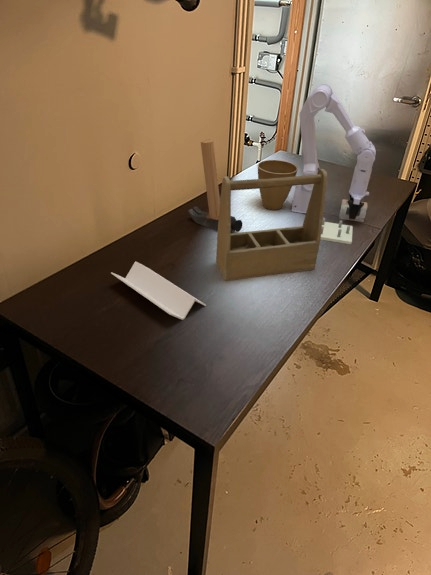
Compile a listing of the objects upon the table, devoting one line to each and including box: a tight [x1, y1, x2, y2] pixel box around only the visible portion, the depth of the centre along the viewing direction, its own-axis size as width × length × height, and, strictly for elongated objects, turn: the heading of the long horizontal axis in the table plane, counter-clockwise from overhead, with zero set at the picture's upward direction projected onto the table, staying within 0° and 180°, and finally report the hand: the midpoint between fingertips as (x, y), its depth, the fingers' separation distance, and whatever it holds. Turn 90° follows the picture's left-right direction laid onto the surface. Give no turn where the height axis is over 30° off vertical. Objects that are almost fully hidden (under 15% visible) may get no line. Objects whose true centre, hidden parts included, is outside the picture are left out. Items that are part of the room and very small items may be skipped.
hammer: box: [187, 139, 243, 233], centre depth 146 cm, size 20×5×30 cm, turn 52°
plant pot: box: [257, 159, 299, 211], centre depth 164 cm, size 15×15×16 cm
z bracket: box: [110, 261, 207, 321], centre depth 118 cm, size 12×25×6 cm
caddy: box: [215, 168, 328, 282], centre depth 124 cm, size 29×11×30 cm, turn 105°
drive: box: [338, 198, 368, 223], centre depth 160 cm, size 9×5×6 cm, turn 74°
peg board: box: [320, 217, 353, 245], centre depth 151 cm, size 15×12×4 cm
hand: (352, 214), depth 161 cm, fingers open, 7 cm apart
